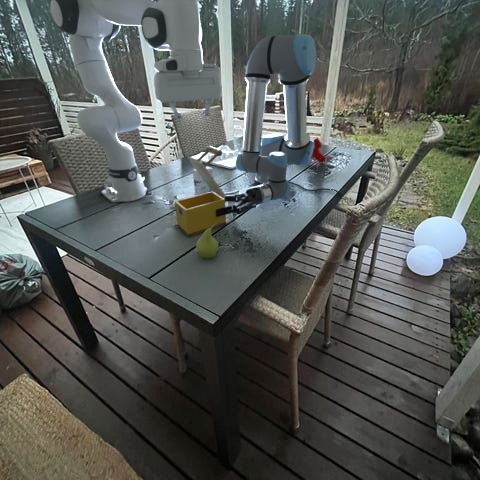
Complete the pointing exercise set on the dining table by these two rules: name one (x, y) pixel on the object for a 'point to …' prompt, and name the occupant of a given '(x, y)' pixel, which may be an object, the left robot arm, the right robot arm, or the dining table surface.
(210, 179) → the lid
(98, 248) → the dining table surface
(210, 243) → the fruit
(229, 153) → the relief map
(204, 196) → the chest
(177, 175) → the dining table surface
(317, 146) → the toy gun
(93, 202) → the dining table surface
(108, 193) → the left robot arm
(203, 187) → the ink box
